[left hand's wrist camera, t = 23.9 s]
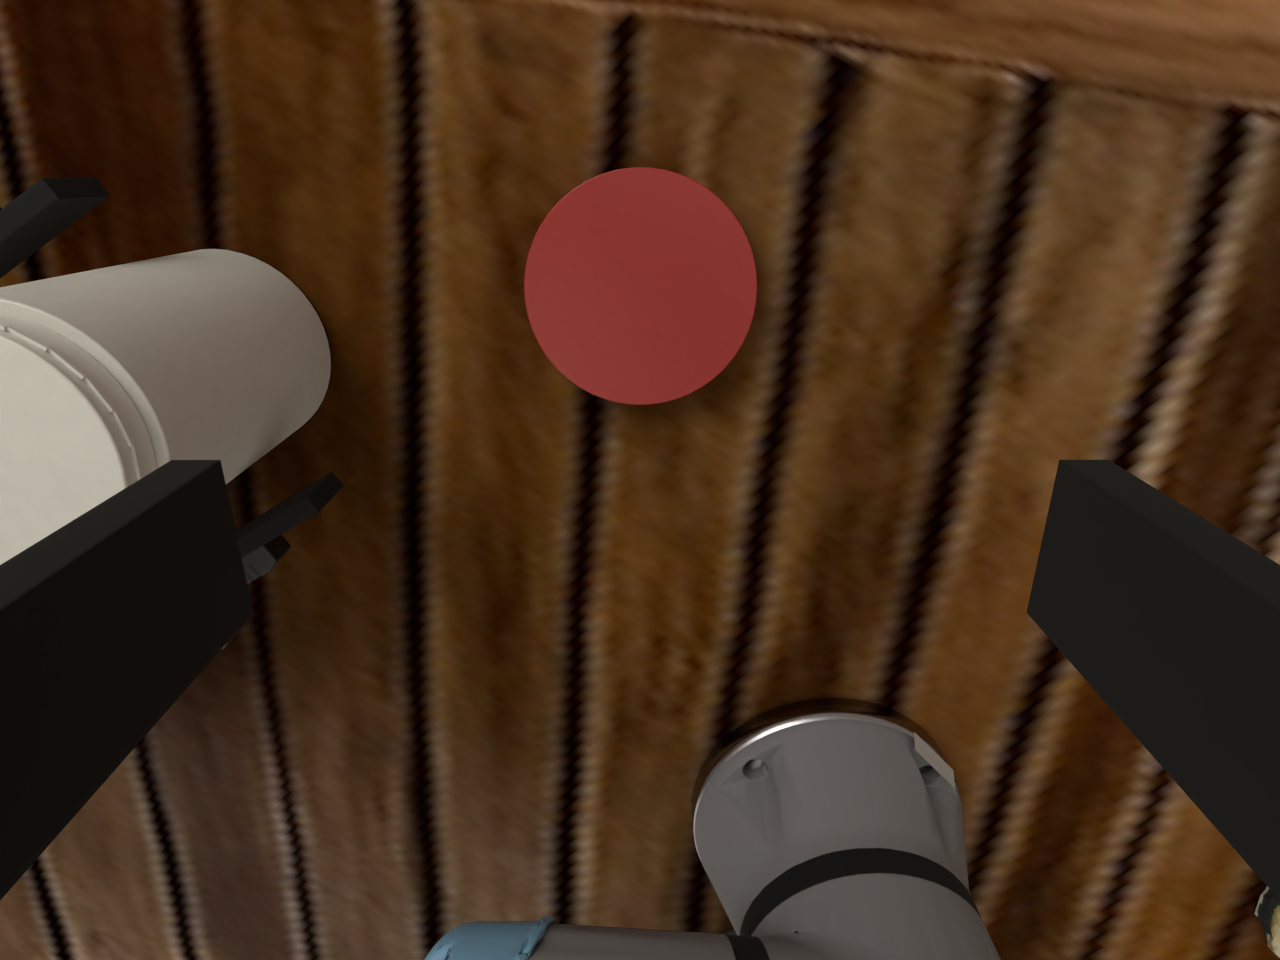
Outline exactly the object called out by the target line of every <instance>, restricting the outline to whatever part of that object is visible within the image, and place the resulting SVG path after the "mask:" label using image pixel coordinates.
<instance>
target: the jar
mask: <svg viewBox="0 0 1280 960" xmlns="http://www.w3.org/2000/svg"><path fill="white" fill-rule="evenodd" d="M330 371H331V358H330V349H329V344H328V339H327V336H326V333H325V330H324V327H323V325H322V323H321V321H320V319H319V316H318V314H317V313H316V311H315V310H314V308H313V306H312V305H311V303H310V302H309V301H308V299H307V298H306V297H305V295H304V294H303V293H302V292H301V291H300V290H299V289H298V288H297V287H296V286H295V285H294V284H293V282H291V281H290V280H289V279H288V278H287V277H285V276H284V275H283V274H282V273H280V272H279V271H277V270H276V269H274V268H273V267H271V266H270V265H268V264H266V263H264V262H262V261H260V260H258V259H256V258H254V257H251V256H248V255H245V254H242V253H238V252H234V251H229V250H220V249H201V250H196V251H190V252H185V253H180V254H174V255H169V256H164V257H159V258H153V259H148V260H143V261H138V262H132V263H127V264H122V265H116V266H111V267H106V268H101V269H95V270H90V271H85V272H80V273H74V274H69V275H64V276H58V277H53V278H48V279H43V280H37V281H32V282H27V283H22V284H16V285H11V286H6V287H0V565H1V564H3V563H4V562H6V561H8V560H9V559H11V558H13V557H14V556H16V555H17V554H19V553H21V552H22V551H24V550H26V549H27V548H29V547H30V546H32V545H34V544H35V543H37V542H39V541H40V540H42V539H43V538H45V537H47V536H48V535H50V534H52V533H53V532H55V531H57V530H58V529H60V528H61V527H63V526H65V525H66V524H68V523H70V522H71V521H73V520H74V519H76V518H78V517H79V516H81V515H83V514H84V513H86V512H88V511H89V510H91V509H92V508H94V507H96V506H97V505H99V504H101V503H102V502H104V501H105V500H107V499H109V498H110V497H112V496H114V495H115V494H117V493H118V492H120V491H122V490H123V489H125V488H127V487H128V486H130V485H132V484H133V483H135V482H136V481H138V480H140V479H141V478H143V477H145V476H146V475H148V474H149V473H151V472H153V471H154V470H156V469H158V468H159V467H161V466H162V465H164V464H166V463H167V462H169V461H171V460H221V465H222V469H223V474H224V479H225V483H226V484H227V483H229V482H230V481H231V480H232V479H234V478H235V477H236V476H238V475H239V474H240V473H242V472H243V471H244V470H245V469H247V468H248V467H249V466H251V465H252V464H253V463H255V462H256V461H257V460H258V459H260V458H261V457H262V456H264V455H265V454H266V453H268V452H269V451H270V450H271V449H273V448H274V447H275V446H277V445H278V444H279V443H281V442H282V441H283V440H284V439H286V438H287V437H288V436H290V435H291V434H292V433H294V432H295V431H296V430H298V429H299V428H300V427H301V426H303V425H304V424H305V423H306V422H307V421H308V420H309V419H310V418H311V417H312V416H313V415H314V413H315V412H316V411H317V410H318V408H319V406H320V405H321V403H322V401H323V399H324V397H325V394H326V391H327V389H328V384H329V380H330Z"/></svg>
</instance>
